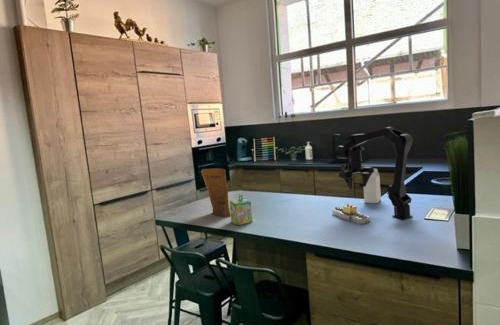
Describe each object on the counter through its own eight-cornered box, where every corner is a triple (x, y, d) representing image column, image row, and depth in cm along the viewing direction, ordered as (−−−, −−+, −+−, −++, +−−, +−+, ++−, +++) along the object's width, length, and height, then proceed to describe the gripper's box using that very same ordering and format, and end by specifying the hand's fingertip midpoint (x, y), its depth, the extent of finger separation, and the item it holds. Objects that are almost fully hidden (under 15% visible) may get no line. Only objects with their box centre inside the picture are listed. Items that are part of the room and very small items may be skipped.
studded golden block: (357, 218, 166) (356, 205, 165) (350, 220, 164) (349, 206, 163) (350, 216, 170) (349, 203, 169) (344, 217, 169) (343, 204, 168)
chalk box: (231, 221, 182) (228, 194, 180) (247, 218, 185) (244, 192, 183) (236, 226, 173) (233, 198, 171) (253, 222, 176) (250, 195, 174)
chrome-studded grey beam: (372, 221, 158) (372, 214, 158) (360, 225, 156) (359, 218, 155) (342, 211, 179) (341, 205, 178) (330, 214, 176) (330, 208, 175)
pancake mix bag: (226, 218, 188) (220, 169, 184) (205, 214, 202) (199, 168, 198) (235, 215, 193) (229, 167, 189) (214, 211, 206) (208, 166, 203)
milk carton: (377, 203, 187) (375, 169, 184) (364, 202, 191) (362, 169, 189) (380, 200, 192) (379, 167, 190) (368, 199, 197) (366, 167, 194)
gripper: (359, 155, 185) (360, 183, 187) (331, 160, 178) (333, 189, 180) (373, 156, 175) (375, 186, 177) (345, 161, 168) (347, 192, 170)
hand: (357, 188), depth 176 cm, fingers open, 9 cm apart
